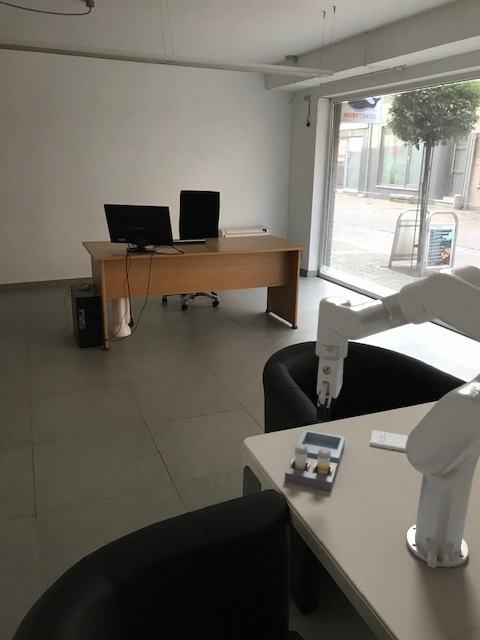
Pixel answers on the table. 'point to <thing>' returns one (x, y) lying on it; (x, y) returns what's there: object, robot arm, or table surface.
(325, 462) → the marked fuse
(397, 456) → the table surface
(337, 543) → the table surface
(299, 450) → the fuse
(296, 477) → the fuse holder
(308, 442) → the tray
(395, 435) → the external hard drive
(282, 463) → the table surface
